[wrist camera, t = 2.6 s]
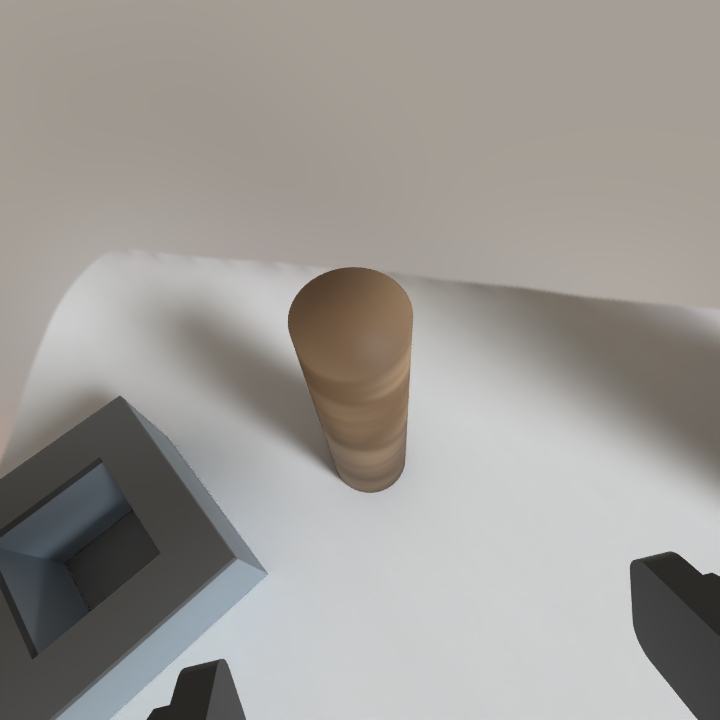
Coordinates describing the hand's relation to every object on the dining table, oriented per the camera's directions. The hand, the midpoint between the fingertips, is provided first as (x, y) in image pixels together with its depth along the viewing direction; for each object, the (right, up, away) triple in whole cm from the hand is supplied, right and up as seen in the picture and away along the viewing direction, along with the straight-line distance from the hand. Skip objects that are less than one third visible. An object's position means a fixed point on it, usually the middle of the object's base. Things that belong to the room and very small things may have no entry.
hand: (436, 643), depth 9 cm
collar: (-13, -5, +16) cm, 22 cm away
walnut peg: (-1, 0, +18) cm, 18 cm away
